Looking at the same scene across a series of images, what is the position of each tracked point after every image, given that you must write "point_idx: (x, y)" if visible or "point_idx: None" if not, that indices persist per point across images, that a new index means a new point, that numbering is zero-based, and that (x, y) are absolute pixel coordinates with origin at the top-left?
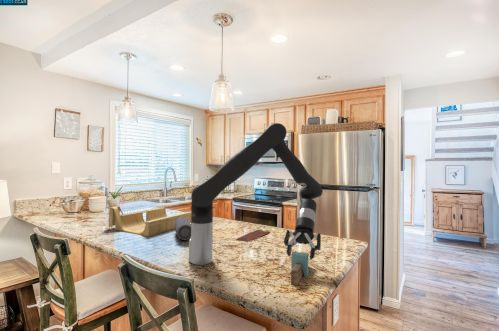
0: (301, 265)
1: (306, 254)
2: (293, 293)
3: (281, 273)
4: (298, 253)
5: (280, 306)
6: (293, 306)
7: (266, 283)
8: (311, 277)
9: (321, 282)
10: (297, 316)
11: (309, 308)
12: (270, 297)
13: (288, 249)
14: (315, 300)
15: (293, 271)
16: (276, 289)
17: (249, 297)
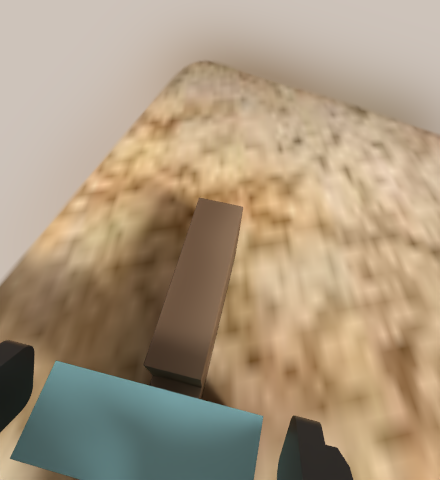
0: (152, 342)
1: (52, 414)
2: (221, 174)
3: None
4: (164, 436)
5: (266, 95)
6: (221, 99)
7: (370, 246)
8: None
9: (39, 314)
10: (209, 62)
11: (165, 96)
12: (313, 136)
13: (329, 472)
14: (131, 139)
15: (226, 206)
16: (303, 196)
17: (392, 128)
